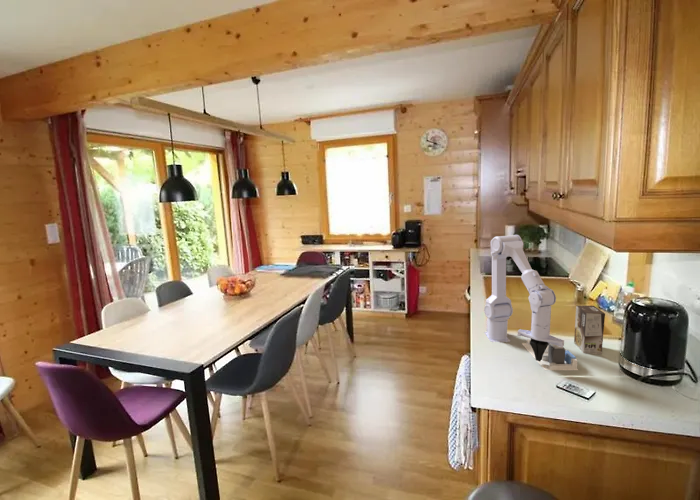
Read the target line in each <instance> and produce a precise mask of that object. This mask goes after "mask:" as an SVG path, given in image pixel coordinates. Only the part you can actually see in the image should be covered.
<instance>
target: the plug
mask: <svg viewBox="0 0 700 500" xmlns="http://www.w3.org/2000/svg"><path fill="white" fill-rule="evenodd" d="M548 362H549V363H556V364H564V363H565V347H564V346H563V347H559V346H557V345H554V344H549V348H548Z"/></svg>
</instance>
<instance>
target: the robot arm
mask: <svg viewBox="0 0 700 500" xmlns="http://www.w3.org/2000/svg"><path fill="white" fill-rule="evenodd" d="M490 256H491V295H489V296H488V298H486V299H485V305H484V308H483V311H484V315H485V317H486V318H487V319H486V331H484V332H483V333H484V335H485V336H486V337H487V339H488V340H489V341H490V342H492V343H493V342H495V343H499V342H500V343H501V342H502V343H503V342H505V343H506V342H507V343H508V342H511V339H510V338H509V337H508V322H509V321H508V320H510V317H511V316H512V315H513V313H514V309H513V305H512V300H511V298H509V297H508V296H507V258H508V257H511V259H512V260H513V261H514V263H515V264H516V266H517V267H518V270H519V271H520V272H521V273H522V274H521V277H520V279H521V282H522V283H523V285H524V286H525V288H526V289H527V291H528V294H529V295H528V301H529V302H528V303H529V305H530V310H531V325H530V330H527V329H521V328H519V329H518V330H517V336H518V337H525V338H528V339H530V340H531V341H530V345H531V347H532V349H533V351H534V354H535V358H536V359H535V358H534V359H535V361H536V360H537V361H541V360H542V357H543V354H544V352H545V350H546V348H547V346H548V345H549V343H550V344H554V345H557V346H559V347H563V348H564V346H565V340H564V339H561V338H558V337H556V336H554V335H551V334H550V332H551V319H552V318H551V316H552V315H551V314H552V306H553V305H555V303H556V301H557V296H556V294H555V293H556V292H555V291H554V290H553V289H551V288H549V286H548V285H546V284H545V282H544V280H543V279H542V278H541V275H540V274H539V272H538V270H536V269H535V270H534V269H532V267H531V264H530V263H529V260H528V258H527V256H526V254H525V251H524V242H523V239H522V237H521V236H520V235H519V234H513V235H512V234H511V235H500V236H499V235H497V236H494V237H493V238H492V239H491V240H490ZM537 361H536V362H537Z"/></svg>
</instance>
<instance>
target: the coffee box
mask: <svg viewBox="0 0 700 500" xmlns="http://www.w3.org/2000/svg"><path fill="white" fill-rule="evenodd" d="M605 316H606V313H605V312H604V311H602V310H601V309H599V308H598V307H596V306H595V305H576V306H575V320H574V321H575V323H574V337H573V338H574V340H573V344H574V345H575V346H576V347H577V348H578V349H579V350H580V351H581V352H582V353H583V354H590V355H591V354H593V355H595V354H596V355H598V354H599V355H602V353H603V344H604V343H603V342H604V341H603V340H604V333H605V332H604V330H605V322H606V321H605V319H606V317H605Z"/></svg>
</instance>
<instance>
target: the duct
mask: <svg viewBox="0 0 700 500" xmlns="http://www.w3.org/2000/svg"><path fill="white" fill-rule="evenodd" d="M530 341H531V339H527V340H526V342H521V344H522V346H523V347H524V348H525V349H526V350H527V352H528V353H529V354H531V356H532V357H533V359H535V361H536V363H538V364H539V366H540V367H542V369H543V370H544V371H579V369H578V359H577V356H575V355H574V354H573V353H572V352H570V350H569V349H568V350H567V349H565V363H564V364H556V363H549V362H548V348H549V345H548V346H547V348H546V350H545V352H544V354H543V357H542V360H541V361H537V360H536V358H535V354H534V351H533V349H532V347H531V345H530ZM549 344H550V343H549Z"/></svg>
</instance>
